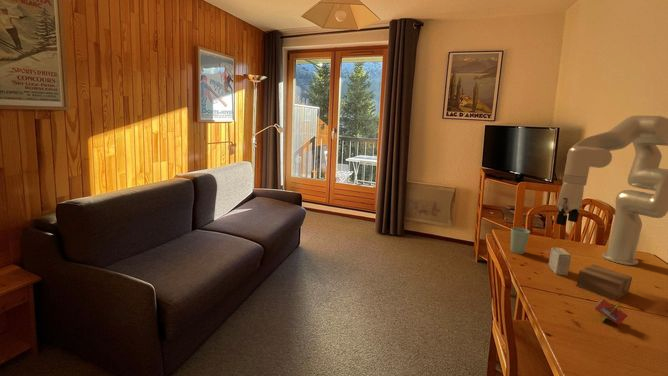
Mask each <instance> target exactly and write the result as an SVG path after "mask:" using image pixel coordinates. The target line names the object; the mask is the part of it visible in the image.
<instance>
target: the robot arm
mask: <svg viewBox="0 0 668 376" xmlns="http://www.w3.org/2000/svg"><path fill="white" fill-rule="evenodd" d="M631 143H632V145H633V147H634V152H635V155H634V158H633V161H632V165H631V167H630V169H629V174H628V177H627V184H628V185H629V186H631V187H632V188H637V189H642V190H647V191H648V190H649V191H653V192H655V193H649V192H646V191H645V192H644V191H640V190H639V191H638V190H634V189H633V190H632V189H625V190H621V191H620V192H618V193H617V195H616V196H615V213H614V220H613V223H612V224H613V225H612V227H611V233H610V239H609V242H608V247H607V251H605V252H602V254H601V257H602V258H604V259H606V260H607V261H610V262H613V263H615V264H618V265H619V264H621V265H623V266H624V265H626V266H637V265H639V260H638V259H636V258H635V256H636V254H637V249H638V244H639V240H640V236H641V232H642V227H643V221H642V219H641V217H640V216H644V217H647V218H648V217H649V218H653V219H661V218H664V217H665V216H666V215H667V213H668V168H661V167H660V164H661V161H662V159H663V158H662V157H663V156H662V152H661V150H660V149H659V147H658V146H667V147H668V117H665V116H663V115H631V116H628V117H626V118H625V119H624V120H622V121H621V122H619V123H618V124H617V125H616V126H614V127H612V128H611V129H610V130H608V131H604V132H600V133H598V134H594V135H591V136H587V137H585V138H583V139H580V140H579V141H578V142H576V143H575V144H574V145H573V146H571V147H570V148H569V149H568V150H567V151H568V152H567V156H566V161H565V162H566V163H565V166H564V167H565V168H564V171H563V178H562V184H561V185H562V186H561V188H560V191H559V195H558V199H557V204H556V208H557V216H556V222H555V223H556V224H557V225H560V226H564V227H565V226H566V224H567V221H569V222H573V223H578V219H579V215H580V214H579V213H580V212H581V211H580V209H581V208H582V203H583V198H584V192H585V191H584V189H585V187H586V186H587V182H588V177H589V172H590V168H597V169H601V168H605V167H607V166H609V165H610V164H611V162H612V160H613V155H612V153H611V152H612V151H618V150H621V149H622V150H623V149H625V148H627V146H629V145H630V144H631ZM567 214H568V215H567Z"/></svg>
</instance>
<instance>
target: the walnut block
mask: <svg viewBox="0 0 668 376" xmlns="http://www.w3.org/2000/svg"><path fill="white" fill-rule="evenodd" d="M632 281H633V276H630V275H627V274H624V273H621V272H618V271H615V270H612V269H609V268H606V267H602V266H600V265H596V264H591V265H589V266H587V267H585V268H583V269H580V270H579V271H578V277H577V282H576V287H578V288H581V289H584V290H586V291H589V292H591V293H593V294H596V295H599V296H602V297H604V298H607V299H609V300H612V301H614V302H617V301H618V300H620V299H621V298H623V297H624V296H625V295H627V294H629V292H630V288H631V284H632Z"/></svg>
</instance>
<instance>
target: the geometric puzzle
mask: <svg viewBox="0 0 668 376" xmlns="http://www.w3.org/2000/svg"><path fill="white" fill-rule="evenodd" d="M608 301H611V299H609V300H608ZM608 301H607V299H606V300H605V299H604V298H603V299H601V300H599V301H597V302H596V304H595V308H594V310H595V311H596V312H598V313H599V314H600V316H601V317H600V316H599V314H597V316H599V317H600V320H601V323H604V322H605V319H607V320H608V323H611V322H612V323H613V324H614V325H617V326H620V324H622V322H623V321H624V320H625V319H626V318H627V317H628V315H627V313H626V311H625V309H623V310H624V311H625V312H624V311H623V310H621V309H620V307H621V306H622V304H621V302H620V301H619V302H617V305H614V303H611V302H608ZM619 304H620V307H618V305H619ZM622 307H623V306H622ZM602 316H603V317H604V319H602V318H603V317H602Z"/></svg>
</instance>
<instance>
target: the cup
mask: <svg viewBox="0 0 668 376" xmlns="http://www.w3.org/2000/svg"><path fill="white" fill-rule="evenodd" d="M530 234H531V231H530V230H528V229H527V228H522V227H511V228H510V252H512V253H514V254H517V255H524V253H525V250H526V247H527V244H528V241H529V237H530Z"/></svg>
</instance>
